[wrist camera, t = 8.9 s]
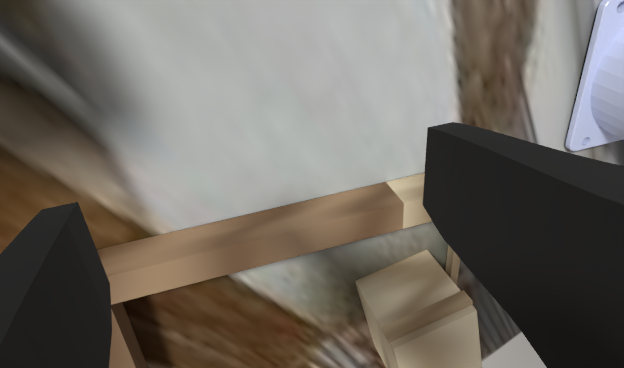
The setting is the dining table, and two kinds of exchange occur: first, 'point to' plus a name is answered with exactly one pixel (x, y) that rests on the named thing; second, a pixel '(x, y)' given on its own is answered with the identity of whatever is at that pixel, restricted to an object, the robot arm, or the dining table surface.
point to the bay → (253, 247)
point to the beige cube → (420, 316)
